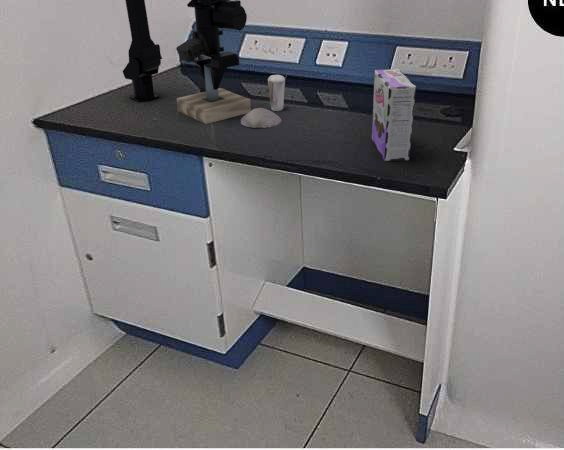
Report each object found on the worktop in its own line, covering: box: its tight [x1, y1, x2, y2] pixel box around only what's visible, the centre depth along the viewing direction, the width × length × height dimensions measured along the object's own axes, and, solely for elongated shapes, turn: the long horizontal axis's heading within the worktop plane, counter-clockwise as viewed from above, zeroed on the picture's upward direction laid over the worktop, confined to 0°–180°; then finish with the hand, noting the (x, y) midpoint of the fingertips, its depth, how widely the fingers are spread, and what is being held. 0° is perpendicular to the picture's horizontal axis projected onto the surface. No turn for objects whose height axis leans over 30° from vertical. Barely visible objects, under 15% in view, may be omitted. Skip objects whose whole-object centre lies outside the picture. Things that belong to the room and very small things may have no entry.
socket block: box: [176, 87, 252, 125], centre depth 166 cm, size 14×14×4 cm
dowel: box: [204, 64, 219, 101], centre depth 163 cm, size 3×3×9 cm
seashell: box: [240, 107, 283, 129], centre depth 158 cm, size 10×6×10 cm
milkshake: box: [267, 72, 289, 112], centre depth 165 cm, size 4×5×10 cm
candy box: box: [371, 68, 417, 162], centre depth 137 cm, size 14×6×16 cm, turn 5°
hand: (212, 88), depth 164 cm, fingers closed on dowel, 3 cm apart
